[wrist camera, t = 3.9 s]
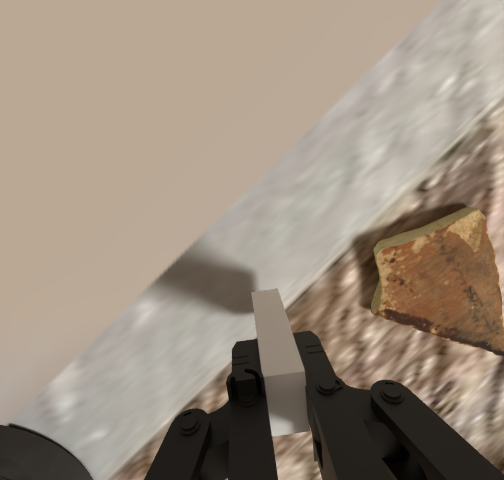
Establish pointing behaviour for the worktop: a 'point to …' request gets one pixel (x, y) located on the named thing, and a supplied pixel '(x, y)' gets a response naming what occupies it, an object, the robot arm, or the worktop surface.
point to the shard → (443, 281)
